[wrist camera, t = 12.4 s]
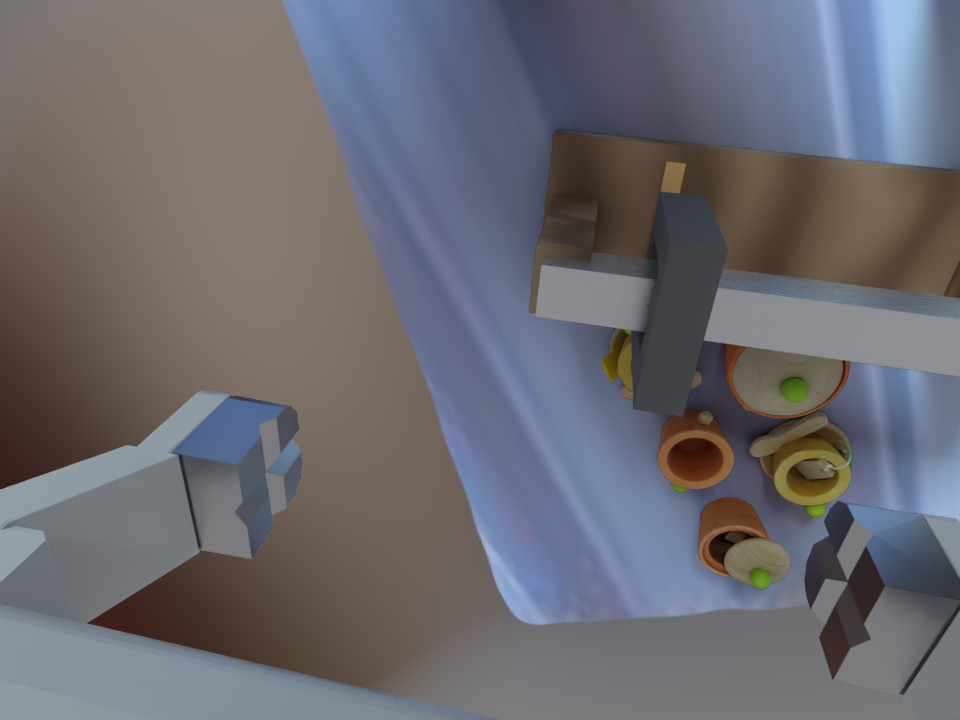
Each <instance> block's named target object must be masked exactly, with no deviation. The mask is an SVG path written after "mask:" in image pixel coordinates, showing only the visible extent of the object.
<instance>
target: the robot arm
mask: <svg viewBox="0 0 960 720" xmlns="http://www.w3.org/2000/svg"><path fill="white" fill-rule="evenodd" d="M298 430H299V424H298V417H297V412H296V410H294V409H293V408H292V407H291V406H287V405H281V404H276V403H271V402H266V401H261V400H256V399H251V398H246V397H240V396H232V395H229V394H224V393H218V392H213V391H202V392H198V393H197V394H195V395H194V396H193V397H192V398H191V399H190V400H189V401H188V402H187V403H185V404H184V405H183V406H182V407H181V408H180V409H179V410H178V411H177V412H175V413H174V414H173V415H172V416H171V417H170V418H169V419H167V420H166V421H165V422H164V423H163V424H162V425H161V426H160V427H159V428H157V429H156V430H155V431H154V432H153V433H152V434H151V435H150V436H149V437H147V438H146V439H145V440H144V441H143V442H142V443H141V444H140V445H138V446H137V447H133V446H128V445H127V446H124V447H121V448H118V449H116V450H113V451H110V452H107V453H104V454H101V455H99V456H96V457H93V458H90V459H87V460H84V461H82V462H78V463H76V464H73V465H70V466H67V467H64V468H62V469H59V470H56V471H53V472H50V473H47V474H44V475H41V476H39V477H36V478H33V479H30V480H27V481H24V482H22V483H19V484H16V485H13V486H10V487H7V488H4V489H1V490H0V720H497V719H493V718H489V717H485V716H480V715H476V714H472V713H467V712H463V711H459V710H455V709H451V708H446V707H442V706H437V705H433V704H428V703H425V702H421V701H416V700H412V699H408V698H403V697H399V696H395V695H391V694H386V693H382V692H378V691H373V690H369V689H364V688H361V687H356V686H352V685H348V684H343V683H339V682H335V681H330V680H326V679H321V678H318V677H313V676H309V675H305V674H301V673H296V672H292V671H288V670H283V669H279V668H275V667H271V666H266V665H262V664H258V663H253V662H249V661H245V660H240V659H236V658H232V657H228V656H223V655H219V654H215V653H210V652H206V651H202V650H198V649H193V648H189V647H185V646H180V645H176V644H172V643H168V642H163V641H159V640H155V639H150V638H146V637H142V636H138V635H133V634H129V633H124V632H120V631H116V630H112V629H107V628H103V627H99V626H94V625H90V624H86V623H87V622H89V621H91V620H92V619H94V618H95V617H97V616H99V615H100V614H102V613H103V612H105V611H107V610H108V609H110V608H111V607H113V606H115V605H116V604H118V603H119V602H121V601H123V600H124V599H126V598H127V597H129V596H131V595H132V594H134V593H135V592H137V591H139V590H140V589H142V588H143V587H145V586H146V585H148V584H150V583H151V582H153V581H155V580H156V579H158V578H159V577H161V576H163V575H164V574H166V573H167V572H169V571H171V570H172V569H174V568H175V567H177V566H179V565H180V564H182V563H183V562H185V561H186V560H188V559H190V558H191V557H193V556H195V555H196V554H198V553H199V550H204V551H210V552H216V553H222V554H227V555H233V556H239V557H244V558H249V559H252V558H253V557H254V555H255V554H256V552H257V551H258V549H259V548H260V546H261V545H262V544H263V542H264V541H265V539H266V538H267V536H268V535H269V533H270V532H271V530H272V529H273V522H272V515H273V514H275V513H277V512H279V511H281V510H283V509H285V508H287V506H288V505H289V503H290V502H291V500H292V499H293V497H294V496H295V493H296V490H297V487H298V485H299V482H300V479H301V471H302V454H301V450H300V449H299V448H298V447H297V445H296V444H295V443H294V441H293V440H292V438H293V436H294V435H295V434H296V432H297V431H298ZM824 523H825V526H826V529H827V531H828V534H829V536H828V537H826V538H824V539H822V540H821V541H819V542H817V543H815V544H814V545H813V547H812V550H811V552H810V555H809V557H808V560H807V563H806V572H805V590H806V596H807V600H808V603H809V607H810V610H811V611H812V612H813V613H814V614H815V615H816V616H817V617H818V618H819V619H820V620H821V621H822V622H823V623H824V624H825V626H824V629H823V630H822V632H821V634H820V636H819V638H820V642H821V645H822V648H823V651H824V654H825V658H826V661H827V664H828V667H829V670H830V673H831V676H832V679H833V681H837V682H841V683H845V684H850V685H854V686H859V687H862V688H867V689H871V690H875V691H879V692H884V693H888V694H892V695H896V696H901V697H902V698H901V701H902V702H903V703H904V704H905V705H906V706H907V708H908V709H909V710H910V711H911V712H912V713H913V714H914V715H915V717H916V718H917V719H918V720H960V522H959V521H958V520H956V519H955V518H948V517H941V516H934V515H927V514H920V513H914V514H912V513H906V512H900V511H894V510H888V509H882V508H876V507H871V506H865V505H859V504H853V503H847V502H841V501H837V502H836V503H835V504H834V505H833V506H832V507H831V508H830V510H829V512H828V514H827V516H826V518H825V520H824Z"/></svg>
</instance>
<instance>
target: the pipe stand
mask: <svg viewBox="0 0 960 720" xmlns="http://www.w3.org/2000/svg"><path fill="white" fill-rule="evenodd" d="M660 191H661V192H670V193H679V194H688V195H697V196H705V197H706V199H707V201H708V204H709V206H710V208H711V211H712V213H713V215H714V217H715V220H716V222H717V224H718V226H719V229H720V231H721V233H722V235H723V238H724V240H725V242H726V244H727V247H728V252H727V256H726V260H725V264H724V267H723V271H722V275H721V278H720V282H719V286H718V289H717V293H716V297H715V300H714V304H713V308H712V311H711V315H710V319H709V322H708V326H707V330H706V334H705V337H704V341H711V342H718V343H725V344H732V345H740V346H747V347H754V348H761V349H768V350H775V351H782V352H789V353H796V354H803V355H810V356H817V357H824V358H831V359H839V360H846V361H853V362H860V363H867V364H874V365H881V366H888V367H895V368H902V369H909V370H916V371H923V372H930V373H938V374H945V375H952V376H959V377H960V170H951V169H941V168H931V167H921V166H911V165H901V164H891V163H882V162H872V161H862V160H852V159H842V158H832V157H822V156H812V155H802V154H792V153H782V152H772V151H762V150H752V149H742V148H732V147H722V146H712V145H702V144H692V143H682V142H672V141H662V140H652V139H642V138H632V137H622V136H612V135H602V134H592V133H582V132H572V131H562V130H556V131H555V133H554V138H553V147H552V155H551V164H550V173H549V181H548V190H547V198H546V207H545V216H544V224H543V228H542V231H541V234H540V237H539V239H538V242H537V245H536V253H535V262H534V271H533V280H532V289H531V298H530V307H529V312H531V313H536V316H535V317H542V318H549V319H556V320H563V321H570V322H577V323H584V324H591V325H598V326H605V327H612V328H619V329H626V330H633V331H641V332H645V330H646V326H647V321H648V316H649V312H650V307H651V303H652V298H653V293H654V289H655V284H656V280H657V275H658V270H659V264H658V260H652V259H646V257H647V252H648V247H649V242H650V237H651V233H652V228H653V223H654V218H655V213H656V208H657V203H658V198H659V194H660Z"/></svg>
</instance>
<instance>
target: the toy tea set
mask: <svg viewBox="0 0 960 720" xmlns="http://www.w3.org/2000/svg"><path fill="white" fill-rule="evenodd" d="M601 361H602V363H603V366H604V369H605V371H606V373H607V376H608V378H609V381H610V382H612V381H613V380H614V379H615V378H616V377H620V378H621V380H622V382H623V383H624V384H623V385H622V387H621V393H622V395H623V397H624V398H626V399H633V381H632V347H631V330H626V329H619V328H616V329H615V331H614V332H613V335H612V337H611V341H610V354H609V355H607V356H606V357H605V358H604V359H602V360H601ZM849 369H850V361H846V360H839V359H831V358H824V357H817V356H810V355H803V354H796V353H789V352H782V351H775V350H768V349H761V348H754V347H747V346H740V345H732V344H726V363H725V374H726V380H727V384H728V387H729V389H730V391H731V393H732V395H733V396H734V397H735V399H736V400H737V401H738V402H739V403H740V404H741V405H742V406H743V408H744V409H745V410H748V411H751V412H754V413H756V414H759V415H762V416H766V417H770V418H794V417H800V416H803V415H807V414H810V413H812V412H815V411H816V410H818V409H820V408H822V407H823V406H825V405H826V404H828V403H829V402H830V401H832V400H833V399H834V398H835V397H836V396H837V395H838V393H839V392H840V391H841V389H842V388H843V386H844V385H845V383H846V381H847V378H848V374H849ZM701 382H702V375H701V373H700V372H699V371H698V370H697V369H696V370H695V374H694V378H693V381H692V385H691V389H693V388H695V387H697V386H698V385H699V384H700V383H701ZM749 452H750V454H751V455H752V456H754V457H759V460H760V464H761V466H762V468H763V470H764V472H765V473H766V474H767V475H768V476H769V477H770V478H771V479H772V480H774V484H775V487H776V489H777V491H778V492H779V493H780V495H781V496H783V497H784V498H785V499H787V500H788V501H790V502H793V503H796V504H800V505H804V508H805V511H806V512H807V514H809V515H810V516H812V517H820V516H822V515H824V513H825V512H826V506H825V503H828V502H830V501H832V500H834V499H836V498H837V497H839V496H840V495H841V494H842V493H843V492H844V491H845V490H846V489H847V487H848V485H849V483H850V481H851V470H852V459H851V446H850V443H849V440H848V438H847V436H846V435H845V434H844V432H843V431H842V430H841V429H840V428H838V427H837V426H835V425H834V424H832V423H830V422H828V419H827V417H826V415H825V414H824V413H822V412H815V413H812V414H810V415H808V416H806V417H804V418H802V419H795V420H791V421H788V422H786V423H783V424H781V425H779V426H777V427H776V428H774V429H773V430H772V431H771V432H769V433H768V434H767V435H765V436H761V437H759V438H757V439H755V440H754V441H753V442H752V443H751V445H750V447H749ZM657 461H658V466H659V468H660V471H661V472H662V474H663V475H664V476H665V477H666V478H667V479H668V480H669V481H671V486H672V487H673V489H674V490H676V491H677V492H685V491H686V490H688V489H689V488H691V489H703V488H708V487H712V486H714V485H716V484H718V483H720V482H721V481H723V480H724V479H725V478H726V477H727V476H728V475H729V473H730V472H731V470H732V468H733V465H734V453H733V450H732V448H731V446H730V444H729V442H728V441H727V439H726V437H725V435H724V433H723V431H722V429H721V428H720V426H719V424H718V422H717V421H716V420H715V419H714V418H713V415H712V413H711V412H709V411H698V410H686V411H684V415H683V417H681V416H674V415H673V416H671V417H670V418H669V419H668V420H667V421H666V422H665V424H664V426H663V428H662V433H661V439H660V445H659V450H658V455H657ZM698 554H699V557H700V560H701V561H702V563H703V564H704V565H705V566H706V567H707V568H708V569H709V570H711V571H712V572H714V573H716V574H719V575H722V576H726V577H733V578H734V579H736V580H737V581H739V582H742V583H744V584H748V585H754V586H755V587H756V588H758V589H766V588H768V587H769V586H770V584H772V583H775V582H777V581H779V580H781V579H782V578H783V577H784V576H785V575H786V574H787V573H788V571H789V569H790V566H791V561H790V556H789V554H788V553H787V551H786V550H785V549H784V548H783V547H782V546H781V545H779V544H778V543H776V542H773V541H770V539H769V537H768V535H767V533H766V531H765V529H764V527H763V525H762V523H761V521H760V519H759V517H758V515H757V514H756V512H755V510H754V509H753V507H752V506H751V505H750V504H748V503H747V502H745V501H743V500H741V499H737V498H721V499H717V500H714V501H712V502H710V503H709V504H708V505H706V506H705V507H704V509H703V510H702V513H701V518H700V530H699V545H698Z"/></svg>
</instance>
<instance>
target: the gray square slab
mask: <svg viewBox="0 0 960 720" xmlns="http://www.w3.org/2000/svg"><path fill="white" fill-rule="evenodd" d="M727 252H728V247H727V244H726V242H725V240H724V238H723V235H722V233H721V231H720V229H719V226H718V224H717V222H716V220H715V217H714V215H713V213H712V211H711V208H710V206H709V204H708V201H707V199H706V197H705V196H697V195H688V194H679V193H670V192H661V191H660V194H659V198H658V203H657V208H656V213H655V218H654V223H653V228H652V233H651V237H650V242H649V247H648V252H647V257H646V259H652V260H658V264H659V270H658V275H657V280H656V284H655V289H654V293H653V298H652V303H651V307H650V312H649V316H648V321H647V326H646V330H645V332H641V331H633V330H631V347H632V381H633V409H636V410H643V411H649V412H655V413H662V414H668V415H674V416H681V417H683V415H684V411H685V407H686V404H687V400H688V396H689V392H690V389H691V385H692V381H693V378H694V374H695V370H696V367H697V363H698V359H699V356H700V352H701V348H702V345H703V341H704V337H705V334H706V330H707V326H708V322H709V319H710V315H711V311H712V308H713V304H714V300H715V297H716V293H717V289H718V286H719V282H720V278H721V275H722V271H723V267H724V264H725V260H726V256H727Z"/></svg>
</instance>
